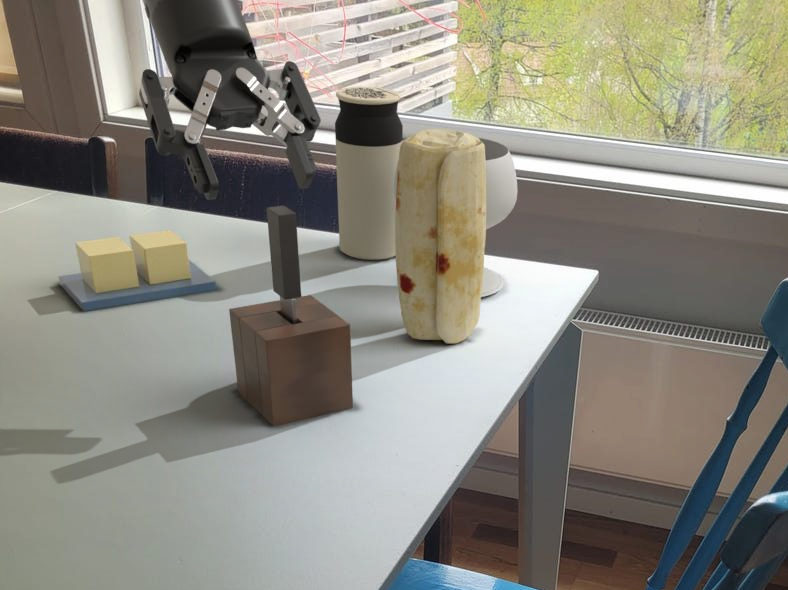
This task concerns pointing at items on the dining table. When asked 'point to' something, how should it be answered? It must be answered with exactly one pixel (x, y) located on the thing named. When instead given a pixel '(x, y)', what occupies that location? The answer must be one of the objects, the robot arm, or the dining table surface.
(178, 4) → the robot arm
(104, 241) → the butter
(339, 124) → the travel mug
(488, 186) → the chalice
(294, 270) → the knife
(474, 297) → the food model
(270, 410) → the knife block
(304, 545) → the dining table surface
